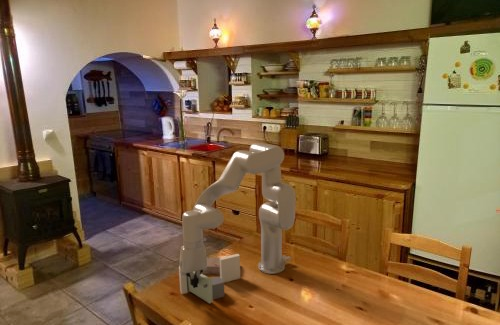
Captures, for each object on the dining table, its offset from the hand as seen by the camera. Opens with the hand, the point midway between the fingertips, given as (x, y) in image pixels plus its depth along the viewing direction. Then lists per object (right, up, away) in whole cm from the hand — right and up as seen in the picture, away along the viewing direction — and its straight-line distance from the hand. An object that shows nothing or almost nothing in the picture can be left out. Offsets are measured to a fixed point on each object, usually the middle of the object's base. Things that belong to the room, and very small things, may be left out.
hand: (194, 285), depth 142 cm
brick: (+8, -2, +26) cm, 27 cm away
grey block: (+8, -6, +6) cm, 12 cm away
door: (+1, -6, +5) cm, 7 cm away
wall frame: (+5, -4, +14) cm, 15 cm away
